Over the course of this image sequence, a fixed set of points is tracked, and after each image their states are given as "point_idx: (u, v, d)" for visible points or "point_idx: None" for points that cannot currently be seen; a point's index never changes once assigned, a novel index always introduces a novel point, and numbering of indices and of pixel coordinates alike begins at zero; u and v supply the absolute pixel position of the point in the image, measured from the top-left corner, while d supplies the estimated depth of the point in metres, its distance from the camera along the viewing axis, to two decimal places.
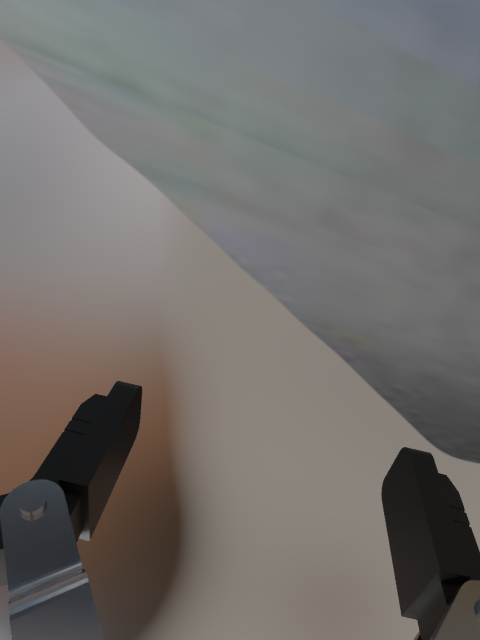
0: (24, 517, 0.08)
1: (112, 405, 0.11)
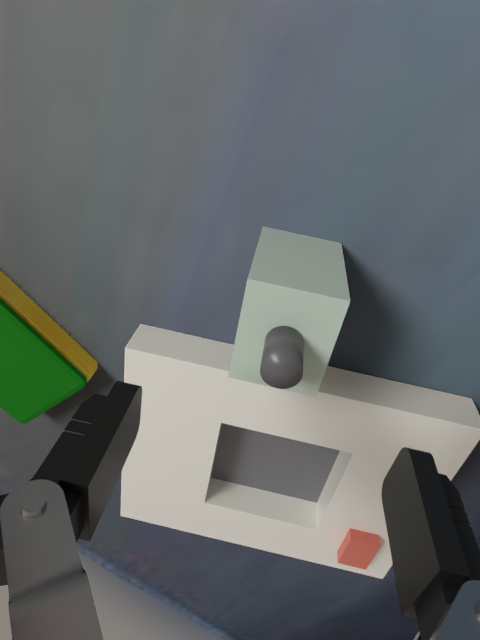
0: (24, 517, 0.08)
1: (112, 405, 0.11)
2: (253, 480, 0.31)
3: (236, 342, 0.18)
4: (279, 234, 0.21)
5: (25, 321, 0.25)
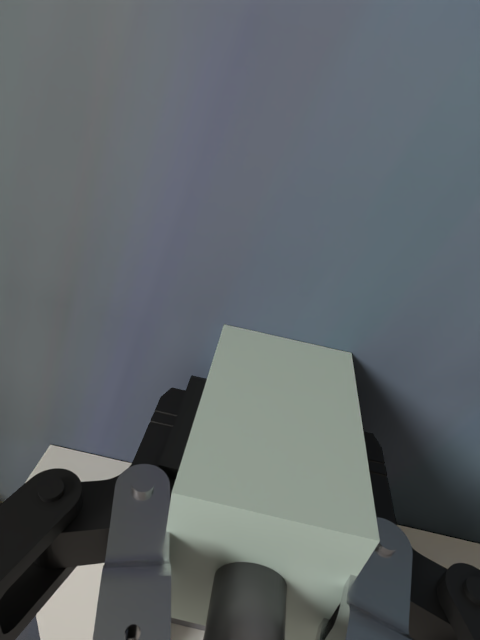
0: (138, 498, 0.09)
1: (192, 398, 0.12)
2: None
3: None
4: (249, 342, 0.13)
5: None
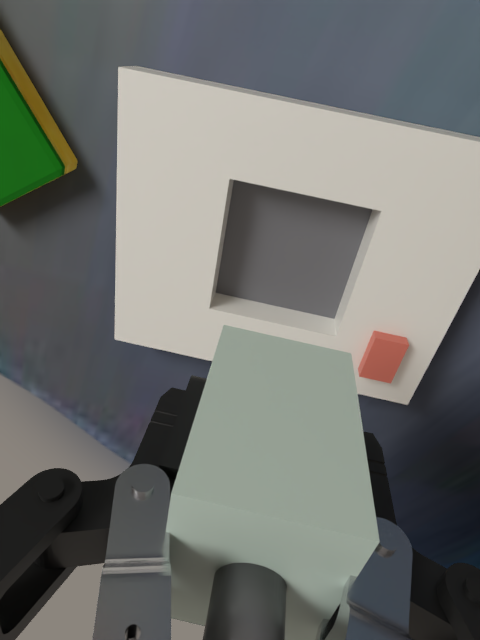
0: (138, 498, 0.09)
1: (192, 398, 0.12)
2: (263, 293, 0.28)
3: None
4: (249, 342, 0.12)
5: (10, 75, 0.22)
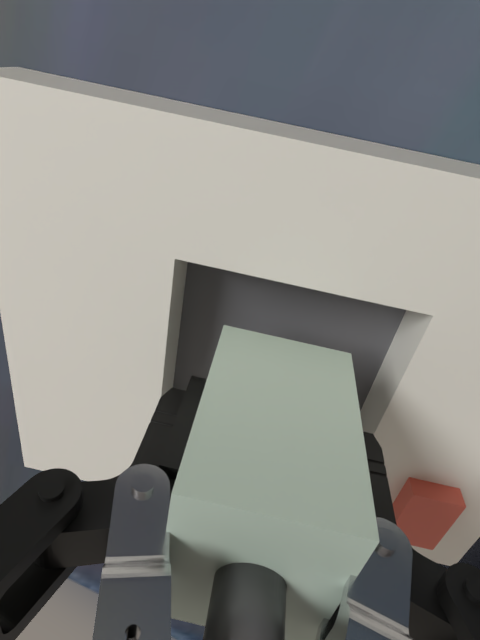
0: (138, 498, 0.09)
1: (192, 398, 0.12)
2: None
3: None
4: (249, 343, 0.13)
5: None
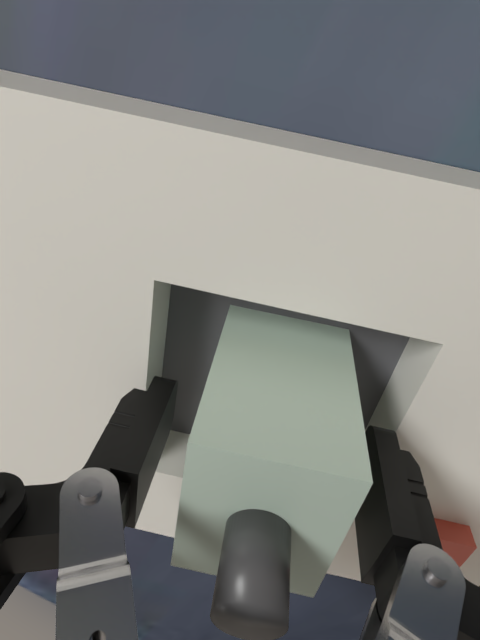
0: (83, 502, 0.09)
1: (153, 399, 0.12)
2: None
3: (178, 525, 0.11)
4: (254, 320, 0.14)
5: None
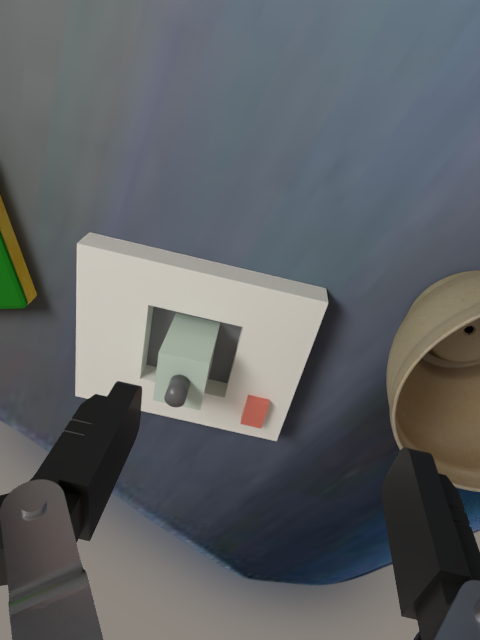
0: (24, 517, 0.08)
1: (112, 405, 0.11)
2: None
3: (155, 382, 0.34)
4: (184, 318, 0.37)
5: (8, 250, 0.35)
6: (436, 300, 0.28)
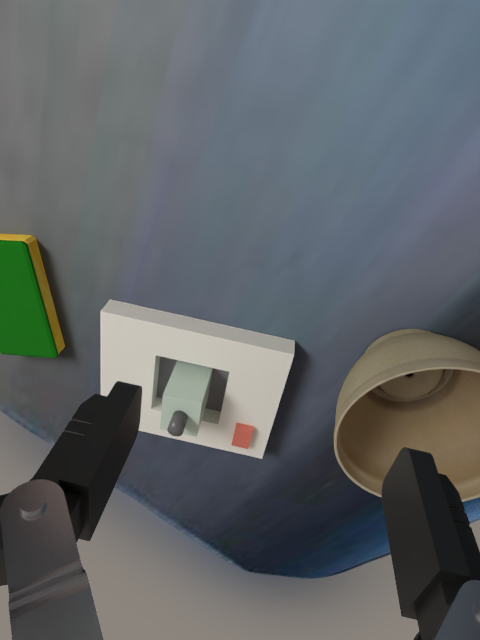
0: (24, 517, 0.08)
1: (112, 405, 0.11)
2: None
3: (161, 416, 0.44)
4: (184, 363, 0.47)
5: (48, 317, 0.45)
6: (367, 360, 0.37)
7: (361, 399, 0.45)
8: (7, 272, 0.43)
